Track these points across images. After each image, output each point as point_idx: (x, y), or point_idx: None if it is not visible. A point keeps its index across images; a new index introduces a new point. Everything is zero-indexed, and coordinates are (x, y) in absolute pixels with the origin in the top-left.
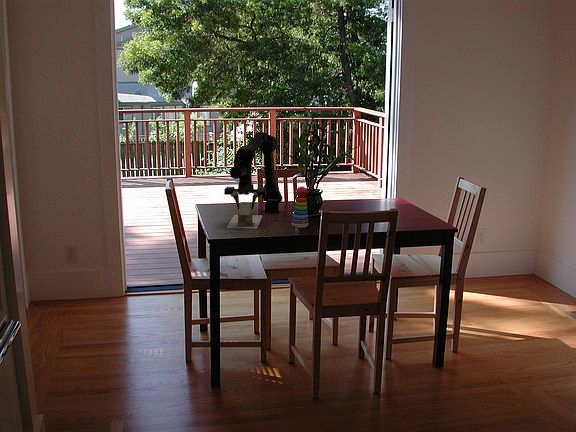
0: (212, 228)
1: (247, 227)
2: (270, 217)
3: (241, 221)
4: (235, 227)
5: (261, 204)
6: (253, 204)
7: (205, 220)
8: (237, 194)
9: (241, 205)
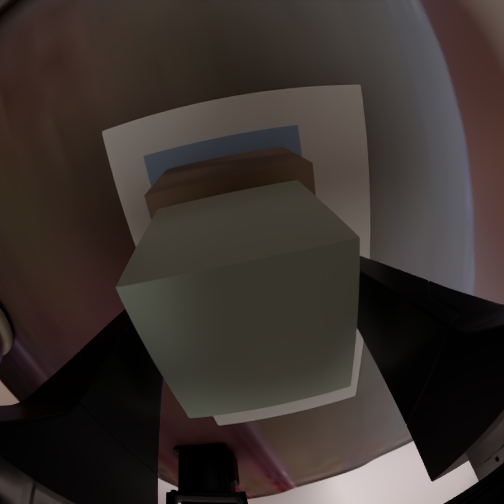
0: (437, 102)
1: (187, 130)
2: (182, 421)
3: (257, 158)
4: (290, 100)
5: (281, 485)
6: (99, 336)
7: (471, 278)
8: (479, 436)
9: (308, 235)
